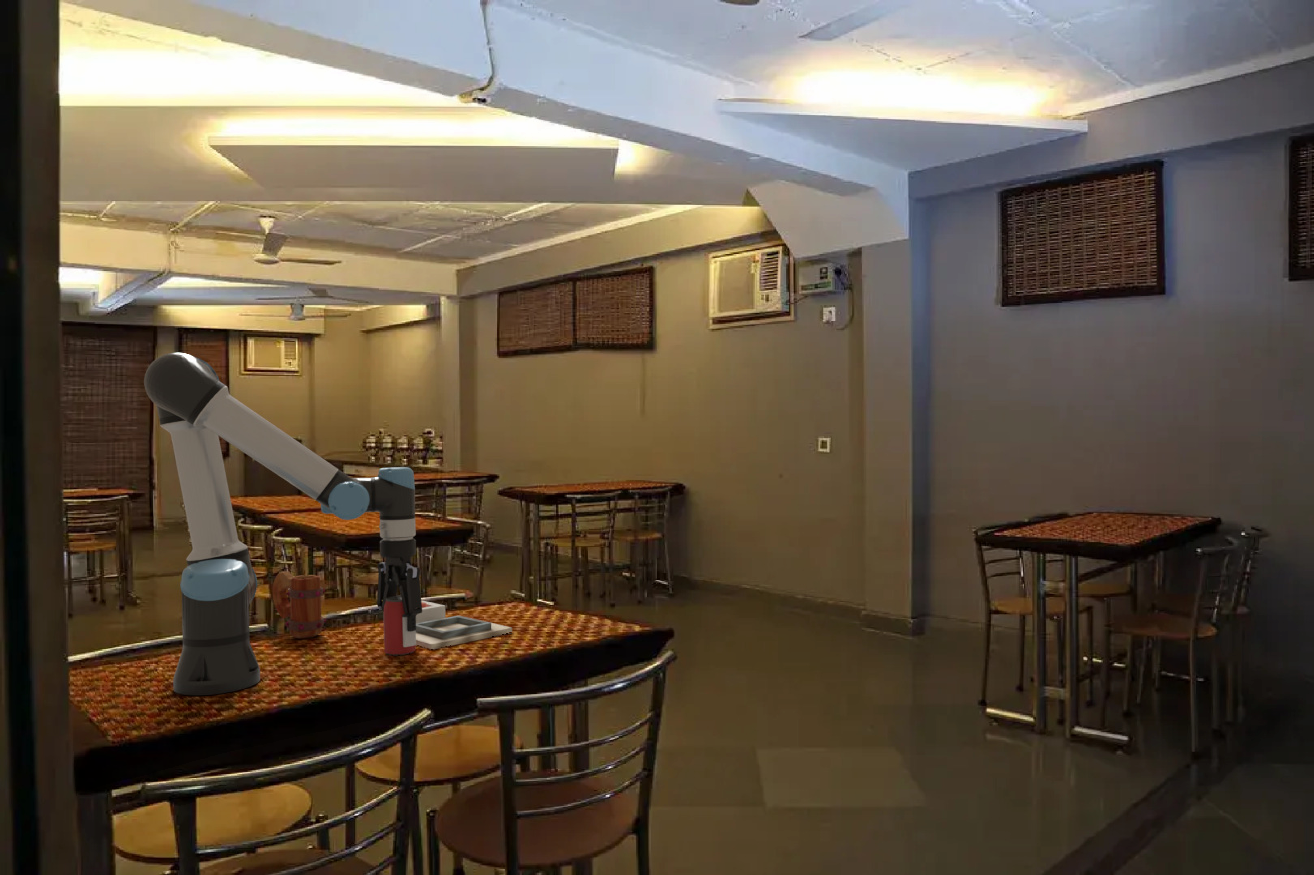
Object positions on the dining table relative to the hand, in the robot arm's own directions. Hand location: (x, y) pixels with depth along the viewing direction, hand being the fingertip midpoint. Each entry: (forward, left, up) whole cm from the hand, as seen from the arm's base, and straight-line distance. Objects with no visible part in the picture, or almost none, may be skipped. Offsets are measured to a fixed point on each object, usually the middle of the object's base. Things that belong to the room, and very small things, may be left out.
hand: (399, 643), depth 204 cm
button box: (+17, +21, -2) cm, 27 cm away
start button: (+17, +21, 0) cm, 27 cm away
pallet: (+17, +6, -2) cm, 18 cm away
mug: (-7, +34, -2) cm, 35 cm away
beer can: (0, 0, -2) cm, 2 cm away
